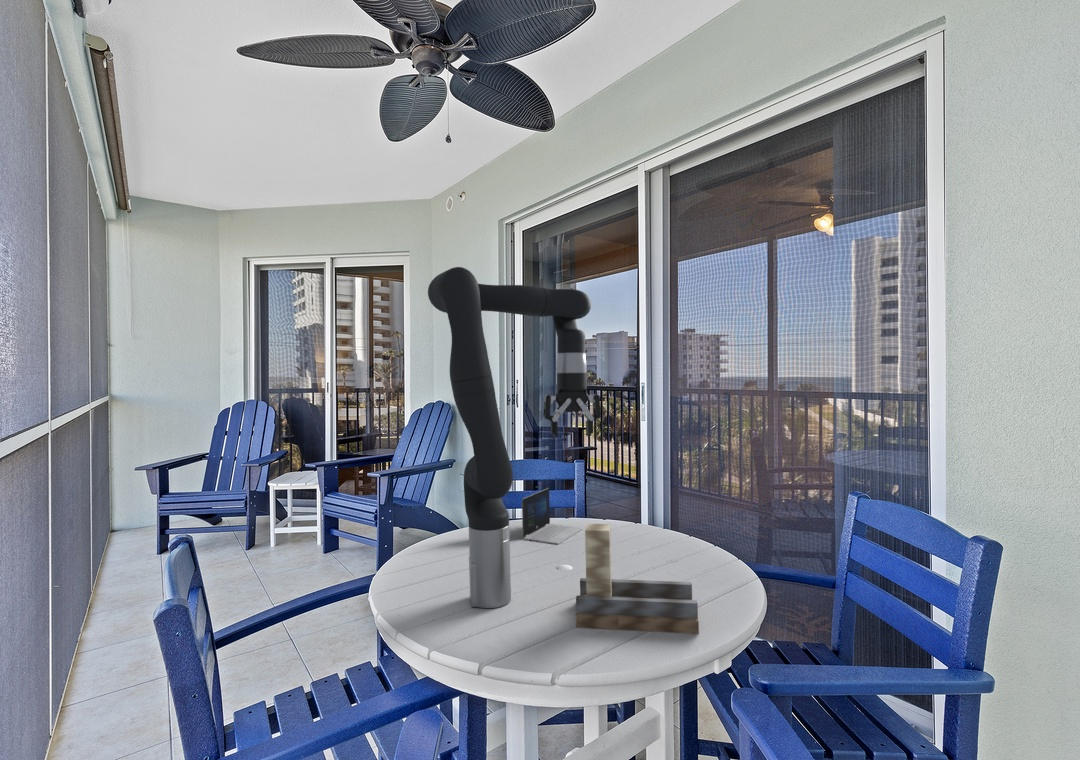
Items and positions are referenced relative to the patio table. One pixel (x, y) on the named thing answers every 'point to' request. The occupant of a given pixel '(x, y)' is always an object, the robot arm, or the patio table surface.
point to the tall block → (598, 560)
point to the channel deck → (640, 607)
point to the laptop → (542, 520)
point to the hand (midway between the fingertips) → (572, 436)
